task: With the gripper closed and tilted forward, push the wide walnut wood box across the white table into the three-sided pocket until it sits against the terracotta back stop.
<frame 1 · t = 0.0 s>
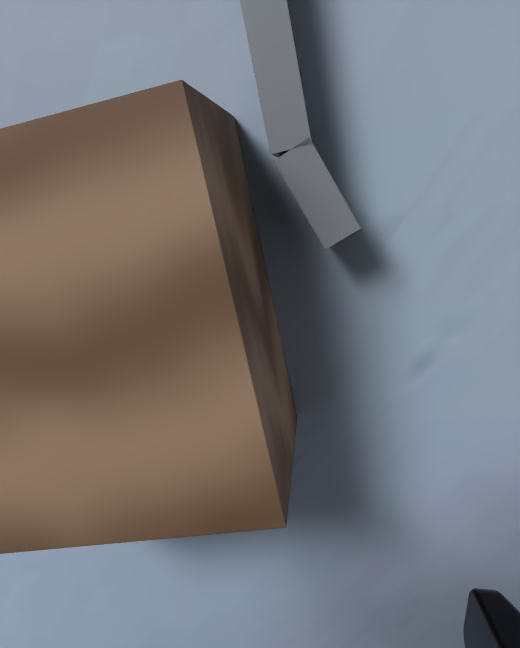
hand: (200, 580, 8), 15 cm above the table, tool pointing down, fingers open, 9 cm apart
box pocket: (60, 8, 19), on the table
walnut box: (146, 301, 23), on the table
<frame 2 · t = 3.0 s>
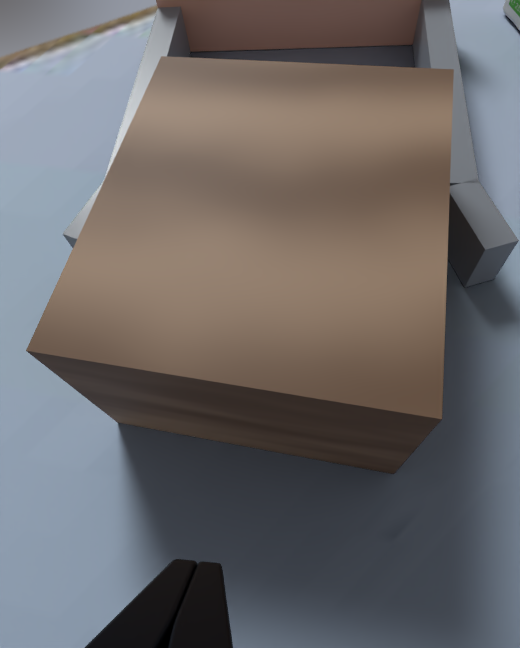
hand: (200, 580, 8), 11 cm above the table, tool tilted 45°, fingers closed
box pocket: (292, 125, 29), on the table
walnut box: (279, 307, 23), on the table
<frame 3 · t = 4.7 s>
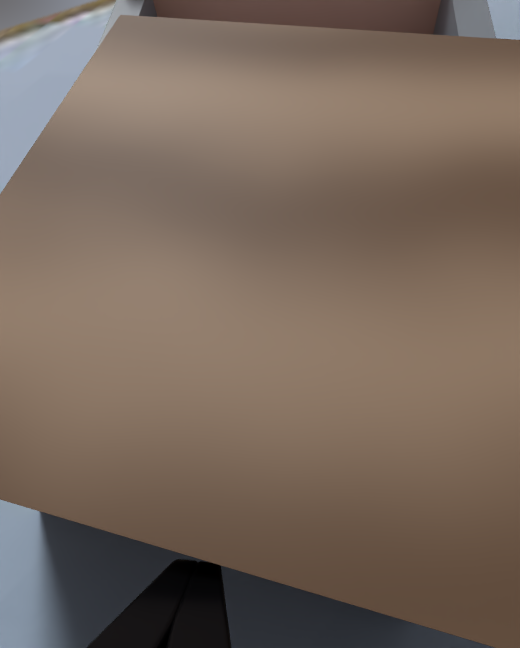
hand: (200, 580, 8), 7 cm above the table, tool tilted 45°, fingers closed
box pocket: (285, 131, 23), on the table
walnut box: (267, 355, 18), on the table
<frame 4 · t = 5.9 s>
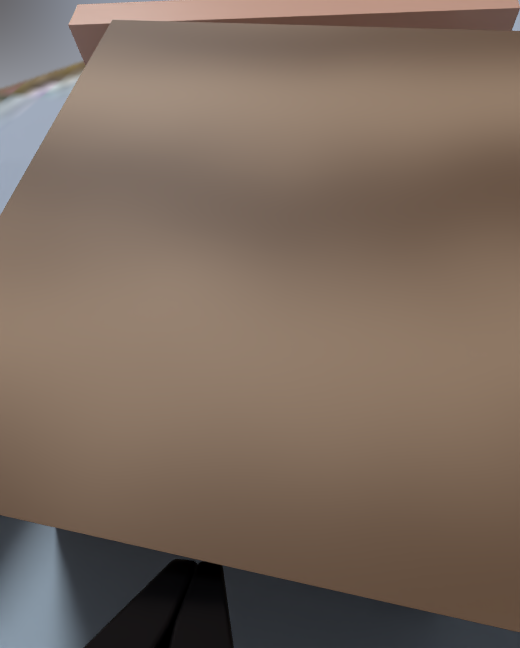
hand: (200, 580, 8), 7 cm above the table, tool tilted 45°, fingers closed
box pocket: (275, 245, 20), on the table
walnut box: (276, 357, 18), on the table, touching gripper
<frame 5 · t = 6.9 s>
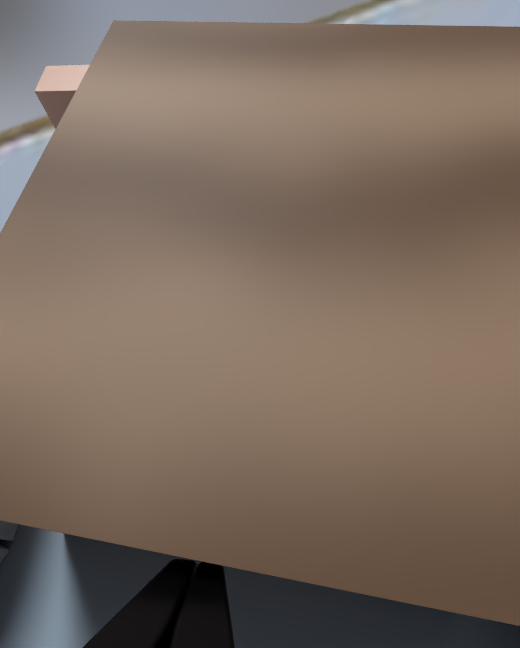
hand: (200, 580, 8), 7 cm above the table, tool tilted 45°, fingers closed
box pocket: (266, 339, 18), on the table
walnut box: (283, 357, 18), on the table, touching gripper
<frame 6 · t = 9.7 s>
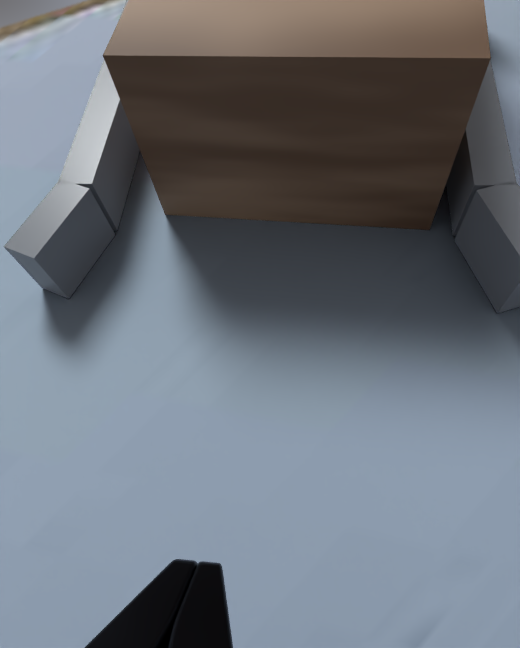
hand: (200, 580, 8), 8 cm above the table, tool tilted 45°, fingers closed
box pocket: (288, 117, 25), on the table
walnut box: (307, 119, 25), on the table
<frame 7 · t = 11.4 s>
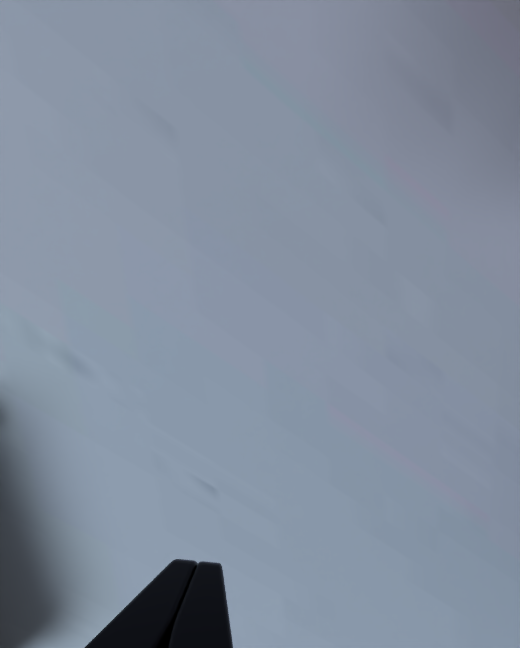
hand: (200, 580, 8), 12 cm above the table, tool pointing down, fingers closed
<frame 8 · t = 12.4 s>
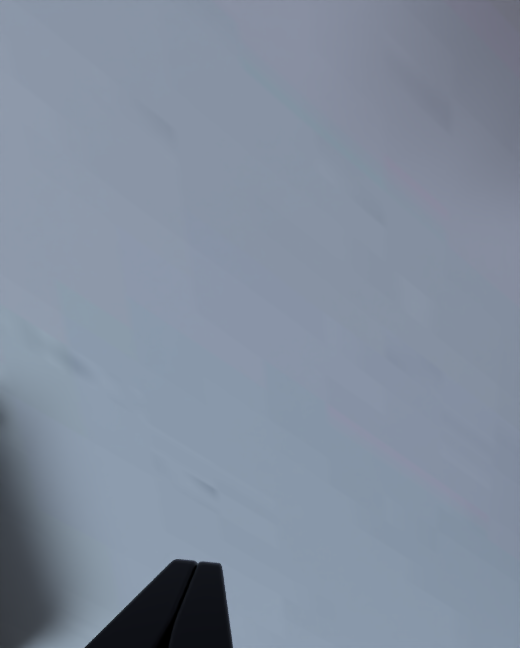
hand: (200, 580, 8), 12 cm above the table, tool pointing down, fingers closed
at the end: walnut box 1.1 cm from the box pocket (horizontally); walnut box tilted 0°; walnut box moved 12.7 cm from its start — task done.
